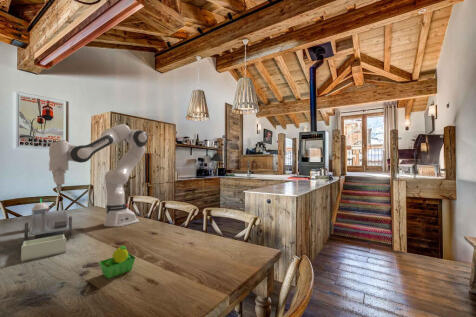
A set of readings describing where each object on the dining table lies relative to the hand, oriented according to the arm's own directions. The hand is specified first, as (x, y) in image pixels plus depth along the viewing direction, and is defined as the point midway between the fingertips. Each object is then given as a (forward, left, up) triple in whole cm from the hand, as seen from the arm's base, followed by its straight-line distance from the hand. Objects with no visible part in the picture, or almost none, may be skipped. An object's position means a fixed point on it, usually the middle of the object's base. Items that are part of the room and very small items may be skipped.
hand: (59, 190), depth 127 cm
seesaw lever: (+4, 0, -17) cm, 18 cm away
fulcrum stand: (+4, 0, -27) cm, 28 cm away
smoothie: (+8, -28, -28) cm, 40 cm away
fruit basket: (-16, +69, -28) cm, 76 cm away
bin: (+6, +23, -27) cm, 36 cm away
